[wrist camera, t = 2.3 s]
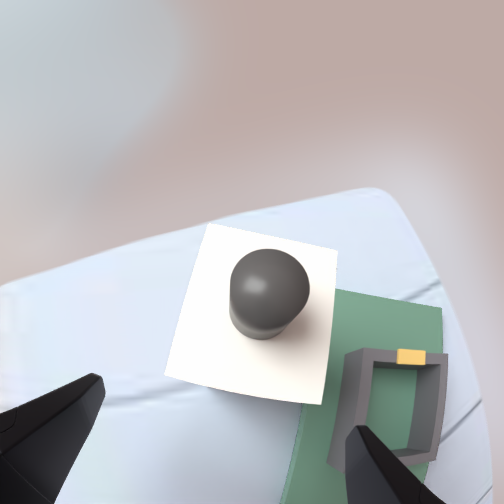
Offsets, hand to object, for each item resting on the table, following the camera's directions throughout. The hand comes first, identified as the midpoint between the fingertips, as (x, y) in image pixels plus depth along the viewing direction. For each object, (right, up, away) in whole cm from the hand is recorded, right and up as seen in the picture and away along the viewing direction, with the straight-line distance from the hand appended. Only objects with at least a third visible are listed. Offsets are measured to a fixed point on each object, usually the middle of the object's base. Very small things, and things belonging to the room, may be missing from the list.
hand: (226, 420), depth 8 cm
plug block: (0, -2, +11) cm, 11 cm away
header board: (+10, -7, +9) cm, 15 cm away
